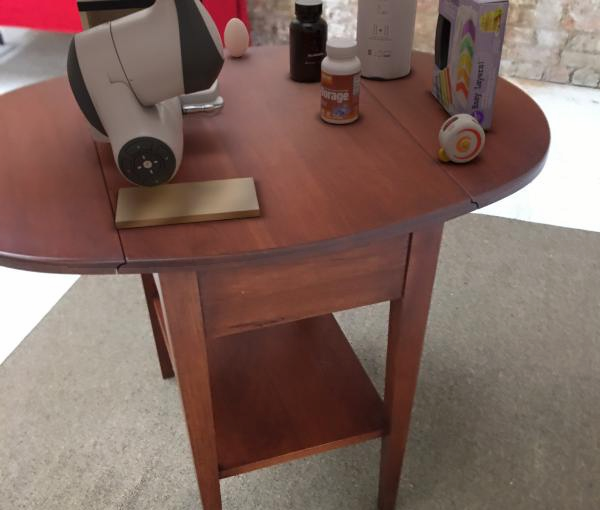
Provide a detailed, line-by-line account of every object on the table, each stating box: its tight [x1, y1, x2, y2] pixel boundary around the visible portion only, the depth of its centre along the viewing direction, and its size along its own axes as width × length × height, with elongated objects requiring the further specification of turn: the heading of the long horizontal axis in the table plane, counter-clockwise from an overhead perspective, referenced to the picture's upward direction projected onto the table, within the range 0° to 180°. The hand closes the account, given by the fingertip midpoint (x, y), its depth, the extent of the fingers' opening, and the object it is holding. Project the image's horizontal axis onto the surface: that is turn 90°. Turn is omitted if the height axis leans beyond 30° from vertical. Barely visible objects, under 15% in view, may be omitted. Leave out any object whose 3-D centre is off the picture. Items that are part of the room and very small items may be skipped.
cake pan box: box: [430, 0, 510, 132], centre depth 98 cm, size 19×5×18 cm, turn 7°
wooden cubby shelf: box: [75, 0, 204, 32], centre depth 102 cm, size 18×13×18 cm
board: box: [114, 176, 261, 230], centre depth 83 cm, size 18×9×1 cm, turn 98°
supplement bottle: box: [288, 0, 329, 83], centre depth 112 cm, size 7×7×12 cm
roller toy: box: [438, 114, 486, 164], centre depth 89 cm, size 4×6×6 cm
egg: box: [223, 17, 250, 58], centre depth 123 cm, size 5×5×7 cm
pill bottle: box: [320, 37, 362, 125], centre depth 99 cm, size 6×6×11 cm
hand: (152, 80), depth 98 cm, fingers open, 8 cm apart
